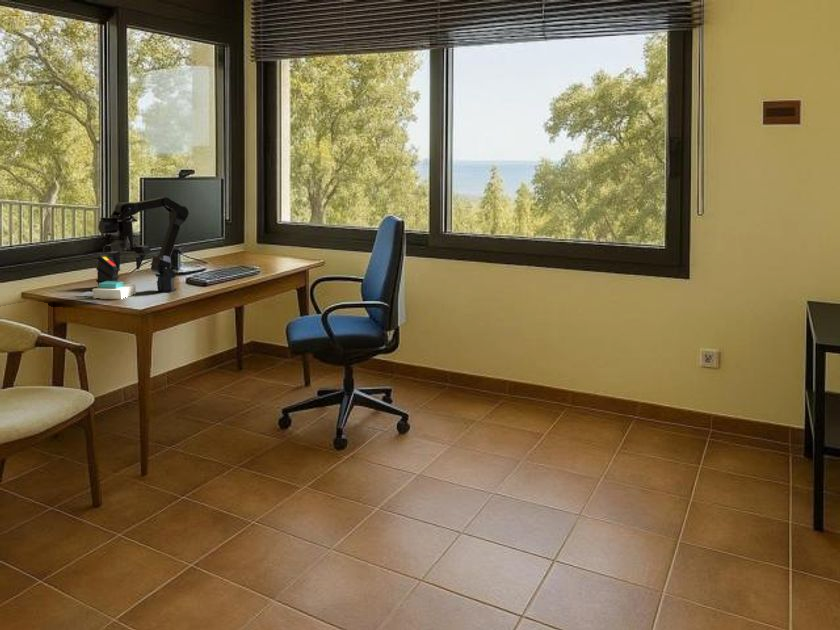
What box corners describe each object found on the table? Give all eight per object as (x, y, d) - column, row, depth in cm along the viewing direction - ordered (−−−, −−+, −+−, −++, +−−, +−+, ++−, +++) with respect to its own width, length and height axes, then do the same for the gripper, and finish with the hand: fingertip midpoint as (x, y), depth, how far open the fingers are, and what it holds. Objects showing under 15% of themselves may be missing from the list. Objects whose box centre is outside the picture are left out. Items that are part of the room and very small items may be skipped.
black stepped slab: (99, 282, 346) (105, 254, 339) (117, 296, 341) (123, 268, 335) (92, 283, 343) (98, 255, 336) (110, 298, 338) (116, 270, 332)
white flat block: (136, 293, 328) (135, 284, 327) (121, 299, 316) (120, 290, 315) (109, 292, 330) (108, 283, 329) (93, 298, 318) (92, 289, 317)
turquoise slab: (123, 286, 324) (123, 281, 324) (116, 288, 318) (115, 284, 318) (106, 285, 325) (106, 281, 325) (98, 288, 319) (98, 283, 319)
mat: (107, 292, 329) (107, 292, 329) (96, 297, 321) (96, 296, 321) (87, 292, 331) (87, 291, 331) (74, 296, 322) (74, 295, 322)
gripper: (94, 233, 309) (97, 270, 312) (135, 235, 306) (137, 272, 309) (110, 231, 320) (112, 267, 323) (149, 232, 317) (151, 269, 320)
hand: (128, 269), depth 319 cm, fingers open, 9 cm apart
